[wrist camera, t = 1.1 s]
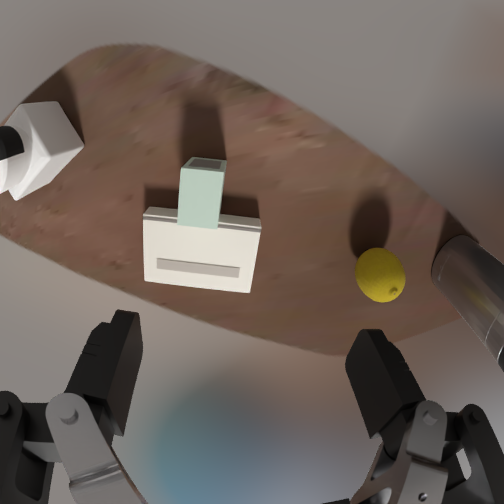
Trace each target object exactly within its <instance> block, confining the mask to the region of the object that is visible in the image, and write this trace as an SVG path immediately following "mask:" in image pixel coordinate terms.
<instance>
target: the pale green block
mask: <svg viewBox="0 0 504 504" xmlns="http://www.w3.org/2000/svg"><path fill="white" fill-rule="evenodd" d="M226 163H227V161H226V160H218V159H208V158H198V157H192V158H191V159H190V160H189V161H188V162H187V163H186V164H185V165H184V166H183V167H182V168H181V175H180V187H179V201H178V218H177V225H181V226H190V227H199V228H208V229H217V228H218V222H219V216H220V209H221V202H222V194H223V186H224V178H225V171H226Z"/></svg>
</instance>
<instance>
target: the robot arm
mask: <svg viewBox="0 0 504 504" xmlns="http://www.w3.org/2000/svg"><path fill="white" fill-rule="evenodd" d="M432 280H433V283H434V285H435V286H436V287H437V288H438V289H439V290H440V291H441V293H442V294H443V295H444V296H445V297H446V298H447V299H448V301H449V302H450V303H451V304H452V305H453V307H454V308H455V309H456V310H457V311H458V312H459V314H460V315H461V316H462V317H463V318H464V320H465V321H466V322H467V323H468V325H469V326H470V327H471V328H472V330H473V331H474V332H475V333H476V335H477V336H478V337H479V339H480V340H481V341H482V343H483V344H484V345H485V347H486V348H487V349H488V350H489V352H490V353H491V355H492V356H493V357H494V359H495V360H496V361H497V363H498V364H499V366H500V367H501V369H502V370H503V372H504V264H502V263H501V262H500V261H499V260H498V259H496V258H495V257H494V256H493V255H492V254H490V253H489V252H488V251H487V250H485V249H484V248H483V247H482V246H480V245H479V244H478V243H476V242H475V241H474V240H472V239H471V238H470V237H468V236H465V235H459V236H456V237H454V238H452V239H451V240H449V241H448V242H447V243H446V244H445V245H444V246H443V247H442V248H441V250H440V251H439V253H438V254H437V256H436V258H435V261H434V264H433V267H432ZM142 353H143V342H142V334H141V326H140V317H139V313H137V312H131V311H124V310H117V311H116V312H115V314H114V316H113V318H112V321H111V323H106V322H101V323H100V324H99V325H98V326H97V327H96V328H95V329H94V330H92V332H91V334H90V336H89V338H88V340H87V343H86V345H85V346H84V349H83V351H82V354H81V355H80V357H79V360H78V362H77V364H76V366H75V369H74V371H73V373H72V376H71V378H70V381H69V383H68V385H67V388H66V390H65V391H64V393H62V394H59V395H57V396H55V397H54V398H52V399H51V400H50V402H48V403H22V402H21V401H20V400H19V398H18V397H17V396H16V395H15V394H14V393H12V392H9V391H0V504H48V499H49V491H50V485H51V479H52V474H53V468H54V463H55V462H62V463H63V465H64V467H65V470H66V472H67V474H68V476H69V479H70V483H69V489H70V492H71V494H72V496H73V498H74V500H75V502H76V504H148V502H147V501H146V500H145V498H144V497H143V496H142V495H141V493H140V492H139V491H138V489H137V487H136V486H135V484H134V483H133V481H132V480H131V478H130V477H129V475H128V473H127V472H126V470H125V469H124V467H123V465H122V464H121V462H120V460H119V458H118V457H117V455H116V453H115V451H114V450H113V448H112V446H111V445H112V441H113V436H114V434H115V435H119V436H123V435H124V431H125V426H126V422H127V417H128V413H129V408H130V404H131V399H132V395H133V390H134V387H135V383H136V379H137V375H138V371H139V367H140V364H141V360H142ZM345 368H346V372H347V375H348V378H349V380H350V383H351V386H352V389H353V391H354V394H355V397H356V400H357V402H358V405H359V408H360V411H361V414H362V417H363V419H364V422H365V425H366V428H367V431H368V434H369V437H370V439H373V438H378V437H382V440H383V441H382V442H381V444H380V445H379V447H378V450H377V452H376V455H375V457H374V460H373V462H372V465H371V467H370V470H369V472H368V474H367V477H366V479H365V481H364V483H363V485H362V486H361V487H360V489H358V491H357V492H356V493H355V494H354V495H353V497H352V499H351V500H350V501H349V499H343V500H339V501H334V502H328V503H323V504H504V454H503V452H502V449H501V447H500V445H499V442H498V440H497V438H496V436H495V434H494V431H493V429H492V427H491V425H490V423H489V421H488V419H487V417H486V415H485V413H484V411H483V410H482V409H481V408H480V407H479V406H477V405H474V404H468V405H466V406H465V407H464V408H463V409H462V410H461V411H460V412H459V413H456V412H445V410H444V409H443V408H442V406H441V405H439V404H438V403H437V402H434V401H430V400H426V399H425V397H424V395H423V393H422V391H421V389H420V387H419V385H418V383H417V381H416V380H415V378H414V376H413V374H412V372H411V371H409V367H408V365H407V363H405V359H404V358H403V356H402V354H401V352H400V350H398V348H396V347H395V346H394V345H393V344H392V343H391V342H388V340H387V338H386V336H385V335H384V333H383V331H382V330H380V329H362V330H361V331H360V332H359V333H358V335H357V337H356V339H355V341H354V343H353V345H352V347H351V349H350V351H349V353H348V355H347V357H346V363H345ZM462 448H464V451H465V453H466V456H467V458H468V461H469V464H470V466H471V470H472V473H471V476H470V477H469V479H468V480H466V479H465V478H464V475H463V472H462V470H461V467H460V464H459V461H458V458H457V456H456V453H457V452H459V451H460V450H461V449H462Z"/></svg>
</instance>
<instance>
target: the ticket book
mask: <svg viewBox="0 0 504 504" xmlns="http://www.w3.org/2000/svg"><path fill="white" fill-rule="evenodd" d="M177 218H178V209H170V208H160V207H149V208H148V209H147V210H146V212H145V213H144V214H143V247H144V275H145V281H150V282H158V283H165V284H173V285H181V286H190V287H198V288H207V289H216V290H225V291H235V292H245V293H250V288H251V283H252V277H253V272H254V266H255V260H256V255H257V249H258V244H259V238H260V233H261V223H260V219H258V218H250V217H242V216H234V215H225V214H220V216H219V222H218V228H217V229H208V228H199V227H190V226H181V225H177Z"/></svg>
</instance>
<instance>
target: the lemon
mask: <svg viewBox="0 0 504 504" xmlns="http://www.w3.org/2000/svg"><path fill="white" fill-rule="evenodd" d="M355 277H356V280H357V283H358V285H359V287H360V289H361V290H362V291H363V292H364V294H365V295H367V296H368V297H369V298H371V299H372V300H374V301H378V302H388V301H391V300H393V299H395V298H396V297H397V296H398V295H399V294H400V293H401V292H402V290H403V288H404V285H405V272H404V269H403V267H402V264H401V262H400V261H399V259H398V258H397V257H396V256H395V255H394V254H393V253H392V252H390V251H388V250H386V249H383V248H372V249H369V250H367V251H365V252H364V253H363V254H362V255H361V256H360V257H359V258H358V260H357V263H356V266H355Z"/></svg>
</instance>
